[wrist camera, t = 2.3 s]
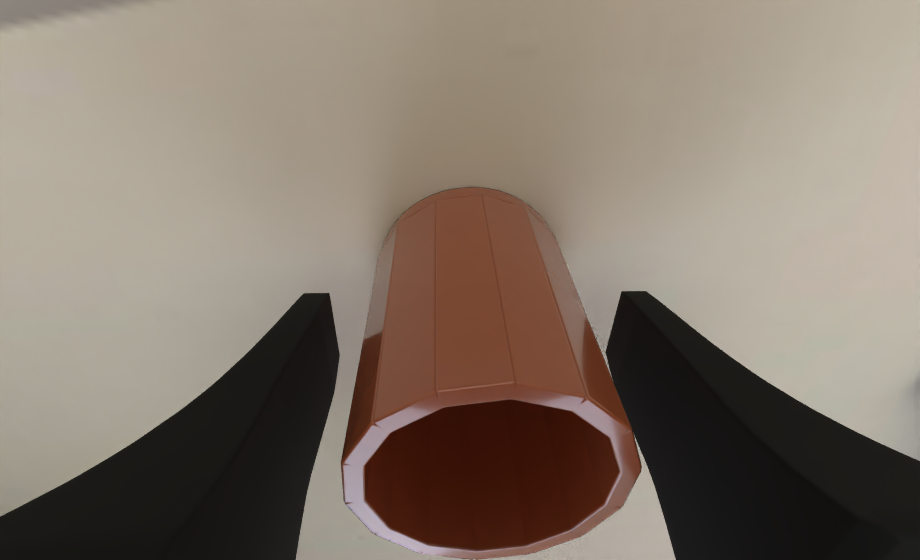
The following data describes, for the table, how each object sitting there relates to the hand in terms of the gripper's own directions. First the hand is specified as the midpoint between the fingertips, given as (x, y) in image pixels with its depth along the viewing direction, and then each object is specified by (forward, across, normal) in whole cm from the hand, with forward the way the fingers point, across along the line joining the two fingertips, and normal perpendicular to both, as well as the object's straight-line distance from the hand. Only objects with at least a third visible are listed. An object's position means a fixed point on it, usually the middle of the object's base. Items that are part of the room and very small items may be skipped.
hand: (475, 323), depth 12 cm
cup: (+3, 0, 0) cm, 3 cm away
